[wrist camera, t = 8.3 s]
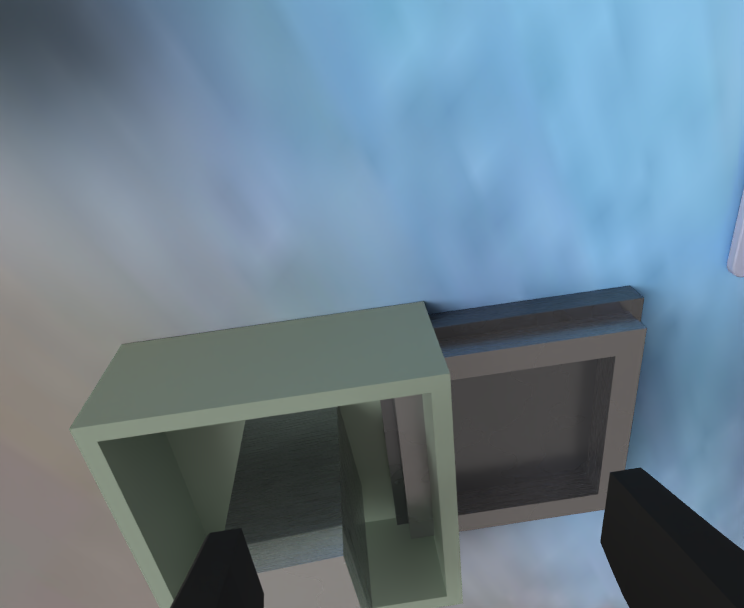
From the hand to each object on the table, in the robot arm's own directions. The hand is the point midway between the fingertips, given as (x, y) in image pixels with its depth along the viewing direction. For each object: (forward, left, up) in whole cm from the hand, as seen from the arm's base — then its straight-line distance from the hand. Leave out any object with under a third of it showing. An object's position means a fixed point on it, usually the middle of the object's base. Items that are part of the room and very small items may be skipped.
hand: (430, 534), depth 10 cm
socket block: (-4, +6, -10) cm, 13 cm away
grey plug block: (+4, +6, -10) cm, 12 cm away
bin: (+4, +6, -10) cm, 12 cm away
